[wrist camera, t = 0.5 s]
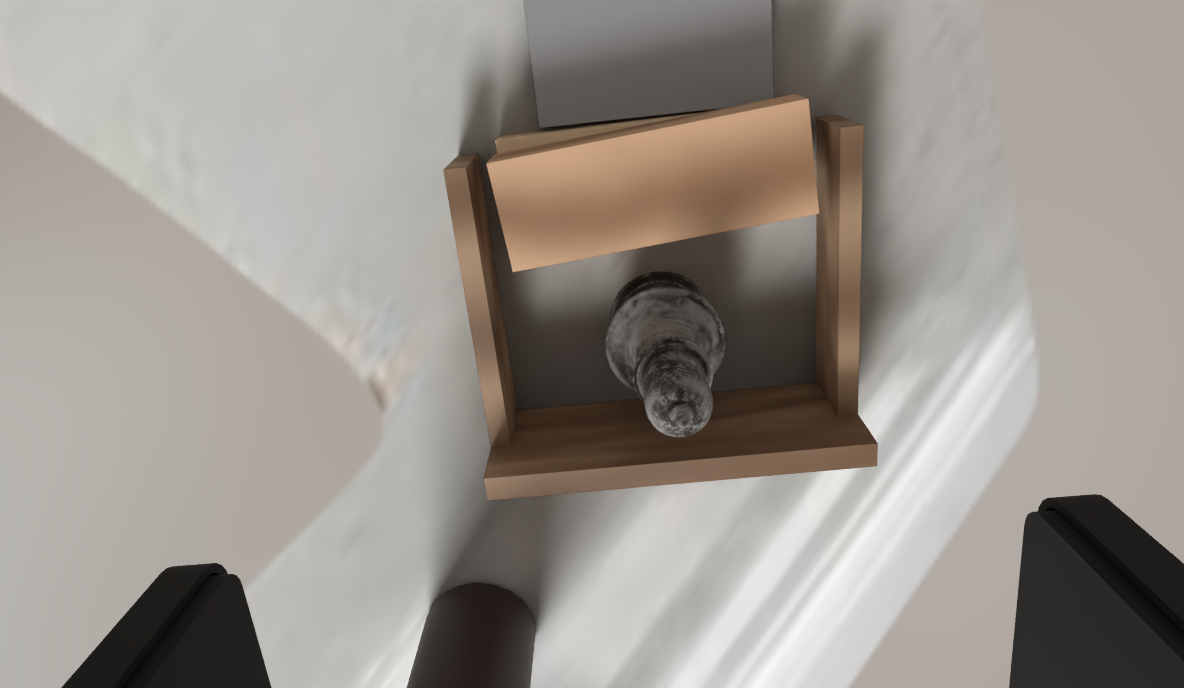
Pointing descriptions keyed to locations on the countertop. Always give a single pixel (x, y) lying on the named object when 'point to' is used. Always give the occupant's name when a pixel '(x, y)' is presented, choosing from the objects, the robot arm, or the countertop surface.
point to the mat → (647, 57)
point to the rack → (739, 417)
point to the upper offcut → (656, 182)
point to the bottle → (475, 641)
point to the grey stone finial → (667, 349)
